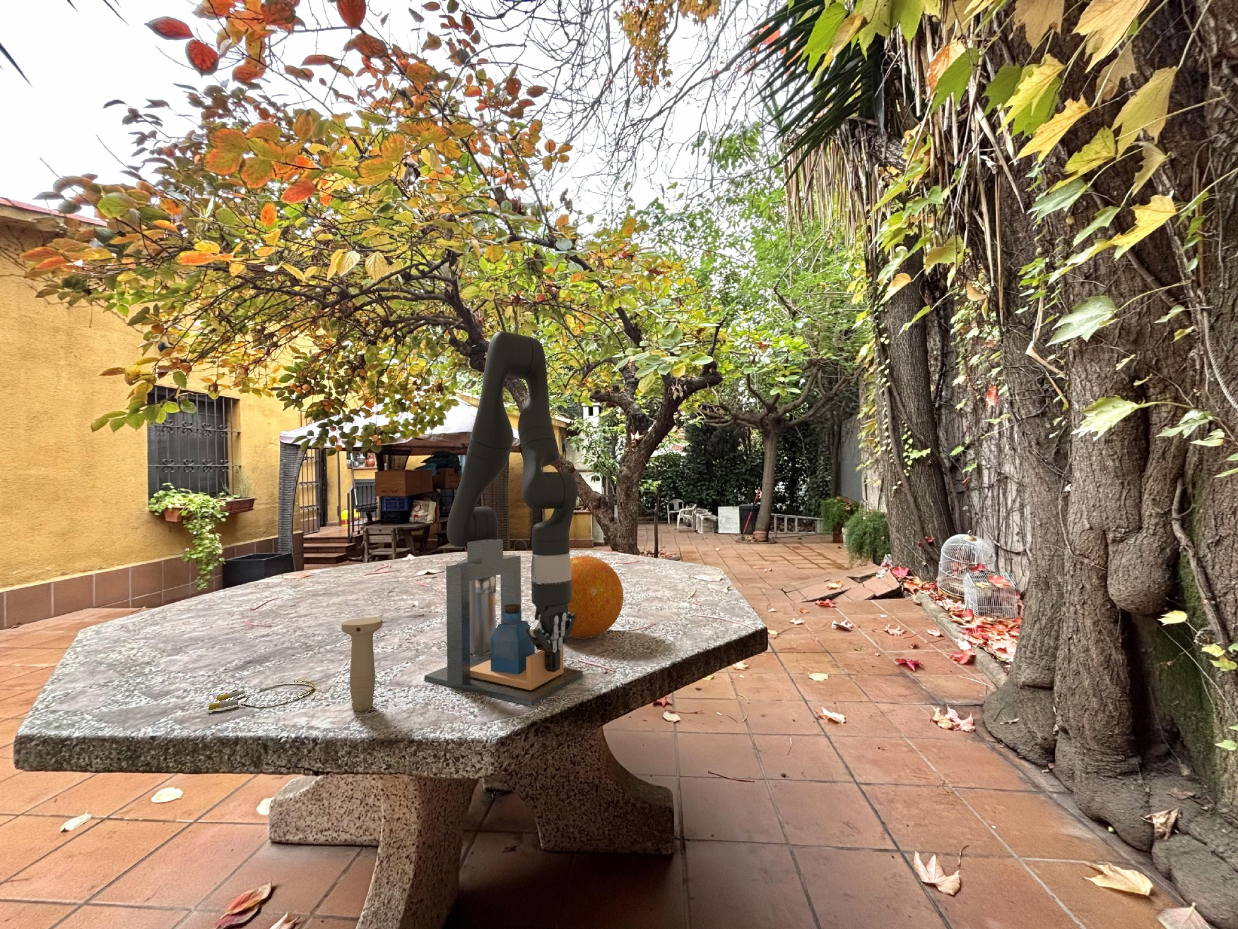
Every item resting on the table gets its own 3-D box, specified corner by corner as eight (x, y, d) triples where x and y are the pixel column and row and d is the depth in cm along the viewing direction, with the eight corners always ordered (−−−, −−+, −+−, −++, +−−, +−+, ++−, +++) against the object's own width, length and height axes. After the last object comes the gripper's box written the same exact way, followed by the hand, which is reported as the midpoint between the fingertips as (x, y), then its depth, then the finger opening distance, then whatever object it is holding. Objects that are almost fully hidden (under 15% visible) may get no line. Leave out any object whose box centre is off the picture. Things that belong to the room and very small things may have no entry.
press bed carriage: (466, 675, 103) (466, 646, 104) (502, 660, 112) (501, 633, 112) (530, 690, 96) (530, 658, 96) (563, 672, 104) (563, 643, 104)
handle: (347, 704, 94) (346, 619, 95) (385, 701, 95) (385, 616, 96) (338, 716, 89) (337, 626, 90) (378, 712, 91) (378, 623, 91)
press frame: (422, 681, 105) (421, 543, 106) (484, 656, 119) (482, 535, 120) (529, 707, 91) (527, 549, 92) (584, 675, 106) (581, 539, 107)
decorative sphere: (545, 628, 142) (543, 552, 142) (619, 624, 144) (618, 550, 145) (542, 651, 122) (541, 563, 123) (629, 646, 124) (627, 560, 125)
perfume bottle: (535, 663, 106) (534, 603, 106) (518, 674, 100) (517, 610, 101) (508, 660, 108) (507, 601, 109) (490, 671, 102) (489, 608, 103)
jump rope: (237, 690, 103) (237, 680, 103) (324, 684, 106) (324, 673, 106) (198, 717, 91) (198, 706, 91) (297, 709, 94) (297, 698, 94)
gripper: (556, 570, 108) (557, 657, 107) (512, 582, 96) (514, 679, 96) (587, 573, 104) (589, 662, 103) (545, 585, 93) (547, 686, 92)
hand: (552, 670), depth 100 cm, fingers closed
